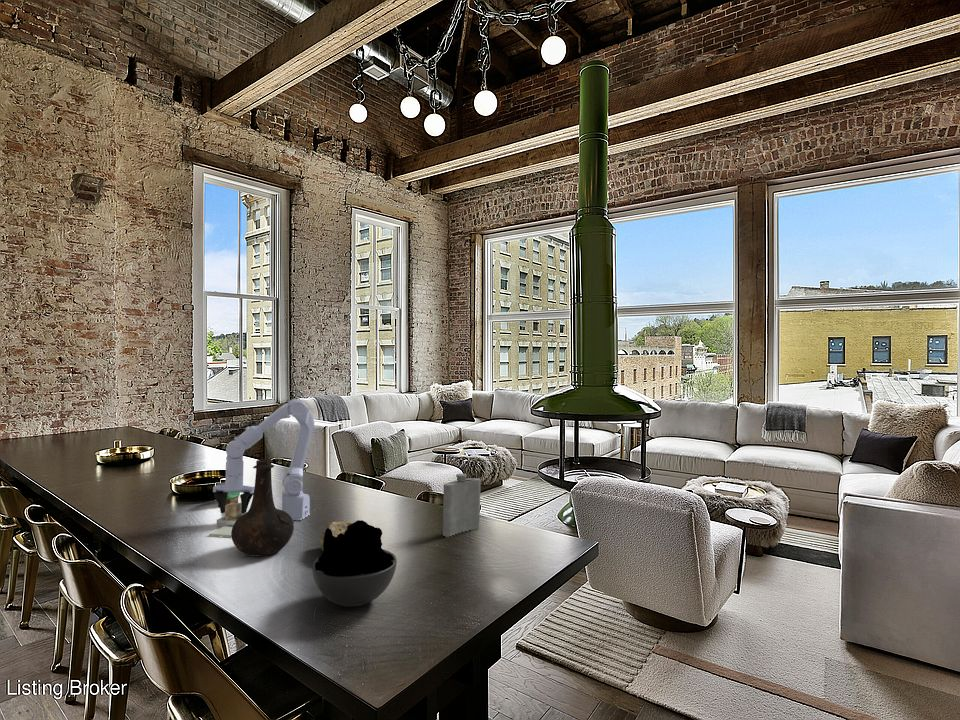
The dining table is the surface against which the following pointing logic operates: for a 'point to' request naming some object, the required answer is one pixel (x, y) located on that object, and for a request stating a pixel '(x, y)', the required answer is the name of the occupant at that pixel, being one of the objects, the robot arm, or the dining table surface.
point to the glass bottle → (262, 519)
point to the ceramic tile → (222, 532)
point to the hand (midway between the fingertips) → (233, 512)
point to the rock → (335, 529)
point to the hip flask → (461, 505)
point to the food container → (230, 495)
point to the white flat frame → (225, 522)
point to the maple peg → (233, 511)
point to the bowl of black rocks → (354, 565)
